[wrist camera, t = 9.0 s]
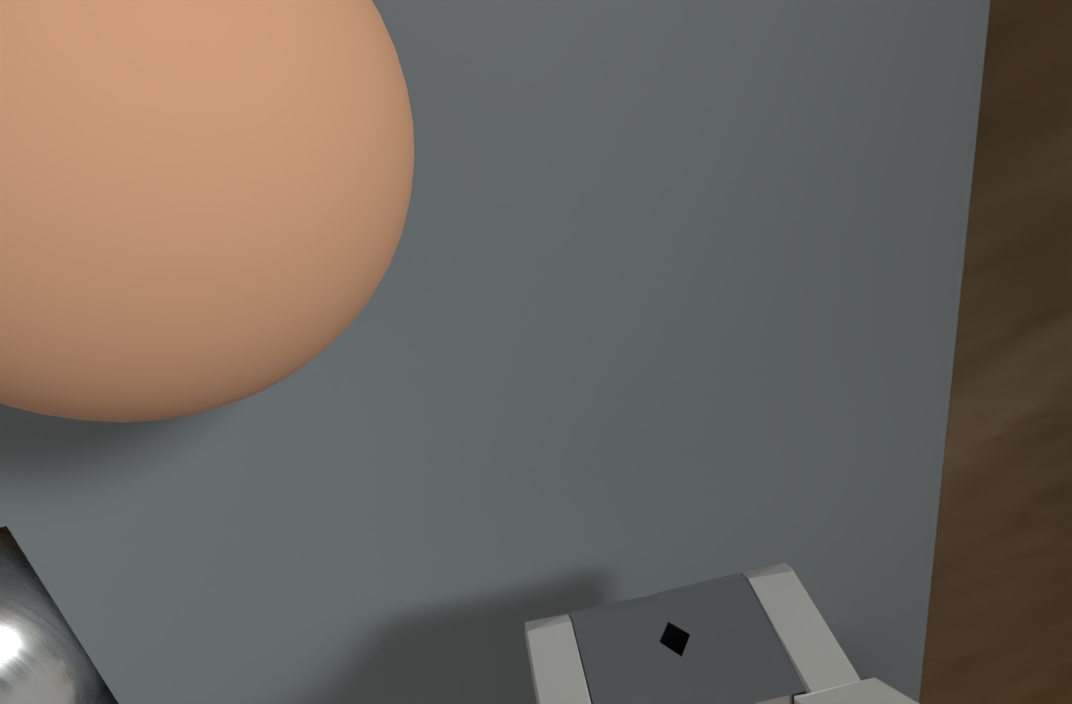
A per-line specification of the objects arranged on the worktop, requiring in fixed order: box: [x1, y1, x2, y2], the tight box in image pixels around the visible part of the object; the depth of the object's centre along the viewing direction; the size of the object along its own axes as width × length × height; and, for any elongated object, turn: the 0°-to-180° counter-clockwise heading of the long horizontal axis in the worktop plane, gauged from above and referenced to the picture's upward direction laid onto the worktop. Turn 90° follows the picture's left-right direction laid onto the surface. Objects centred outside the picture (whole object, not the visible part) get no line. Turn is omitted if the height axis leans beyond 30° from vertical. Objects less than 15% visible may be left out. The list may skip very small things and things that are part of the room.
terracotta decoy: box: [0, 0, 414, 422], centre depth 6 cm, size 4×4×4 cm
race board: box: [0, 0, 990, 704], centre depth 11 cm, size 20×18×4 cm
